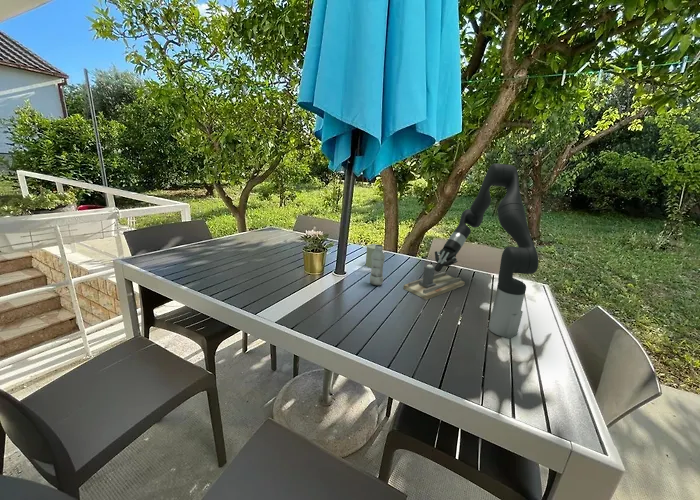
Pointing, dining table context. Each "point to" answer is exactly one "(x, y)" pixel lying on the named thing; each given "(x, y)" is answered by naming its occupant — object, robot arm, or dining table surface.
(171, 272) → the dining table surface
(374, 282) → the plastic bottle
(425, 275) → the fader tab
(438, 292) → the wooden tray
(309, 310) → the dining table surface
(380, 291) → the dining table surface
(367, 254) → the can
